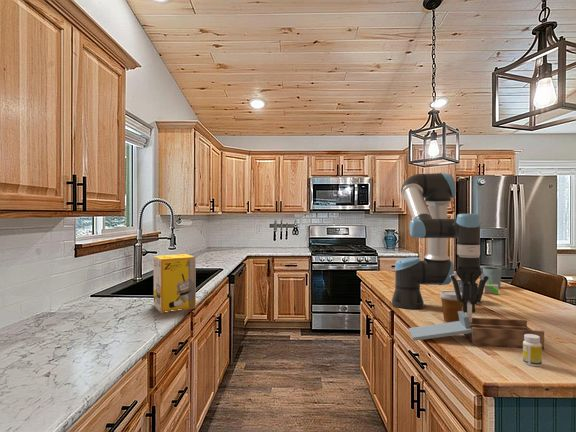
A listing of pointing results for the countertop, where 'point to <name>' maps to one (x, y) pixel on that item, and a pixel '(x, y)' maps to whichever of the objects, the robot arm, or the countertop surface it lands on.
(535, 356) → the supplement bottle
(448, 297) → the disposable coffee cup
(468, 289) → the small box
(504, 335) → the box body
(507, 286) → the countertop surface
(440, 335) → the cover plate
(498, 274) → the drinking glass
